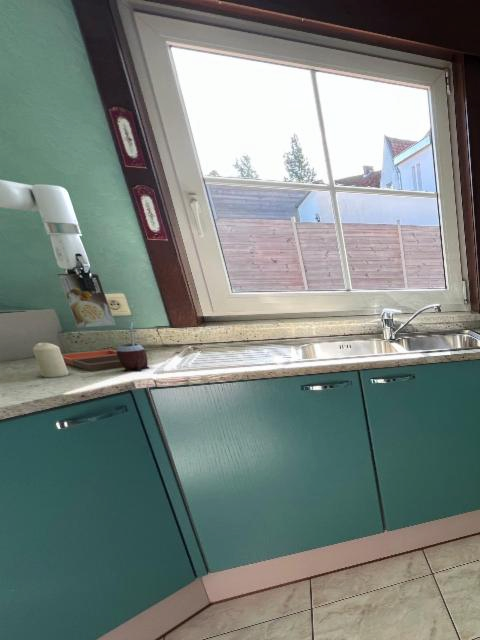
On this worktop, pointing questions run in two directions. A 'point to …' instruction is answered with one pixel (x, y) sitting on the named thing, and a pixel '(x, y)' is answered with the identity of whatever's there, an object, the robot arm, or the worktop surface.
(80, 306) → the coffee box
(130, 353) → the mate gourd
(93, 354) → the terracotta tray
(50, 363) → the candle
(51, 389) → the worktop surface
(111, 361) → the walnut tray
